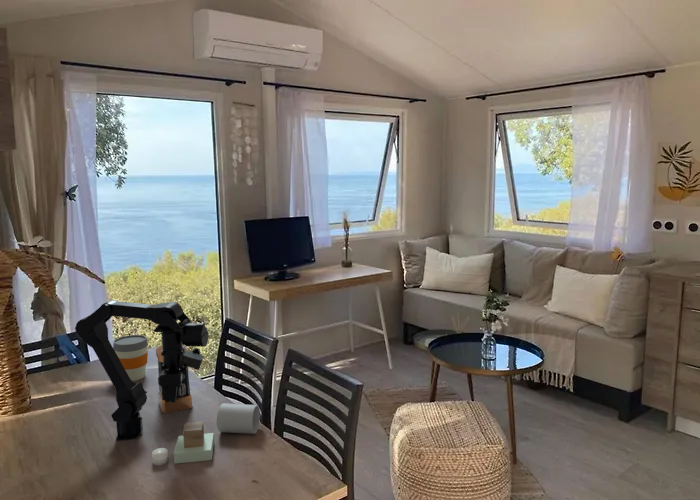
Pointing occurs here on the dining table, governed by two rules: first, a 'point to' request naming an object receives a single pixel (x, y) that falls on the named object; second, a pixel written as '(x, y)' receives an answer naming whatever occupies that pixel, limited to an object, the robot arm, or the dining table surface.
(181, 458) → the base slab
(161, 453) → the cream tealight
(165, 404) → the whiskey bottle
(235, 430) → the mug
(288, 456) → the dining table surface
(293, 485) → the dining table surface
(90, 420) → the dining table surface
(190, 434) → the walnut cube
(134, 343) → the reusable coffee cup
